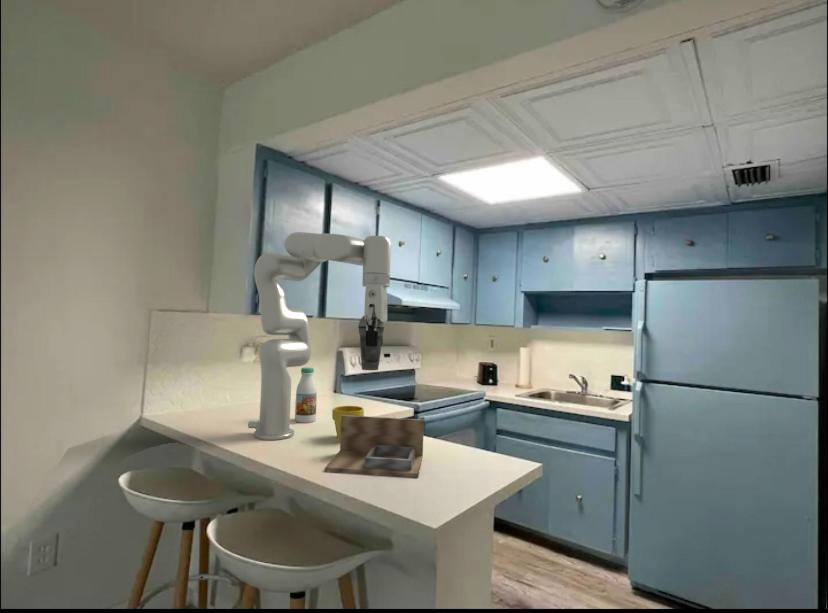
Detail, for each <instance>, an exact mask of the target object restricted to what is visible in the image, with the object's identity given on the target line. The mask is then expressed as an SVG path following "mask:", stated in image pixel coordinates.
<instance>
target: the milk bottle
mask: <svg viewBox="0 0 828 613" xmlns="http://www.w3.org/2000/svg"><path fill="white" fill-rule="evenodd" d="M300 372H301V373H300V374H301V377H300V379H299V383H297V386H296V392H295V406H294V421H295V422H296V423H299V424H301V423H302V424H308V423H309V424H310V423H313V422H315V421H316V420H317V418H316V417H317V397H318V396H317V394H318V392H317V391H318V390H317V386H316V383H315V380H314V376H313V375H314V368H313V367H301V368H300Z"/></svg>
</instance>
